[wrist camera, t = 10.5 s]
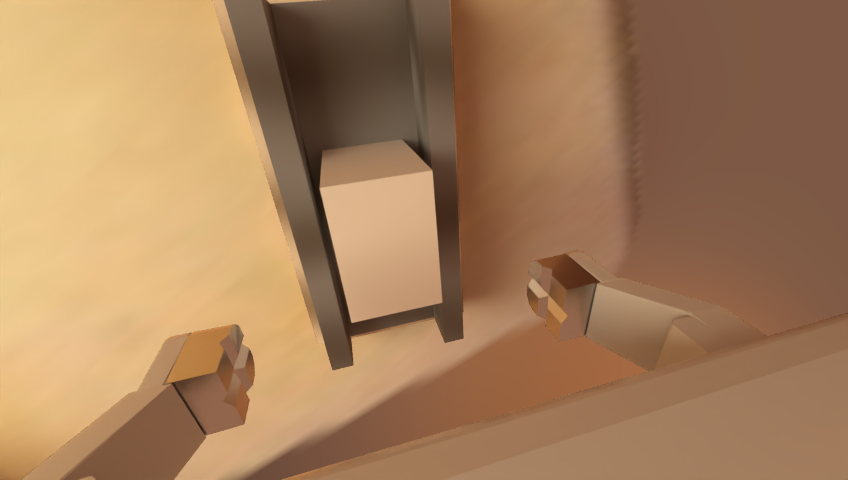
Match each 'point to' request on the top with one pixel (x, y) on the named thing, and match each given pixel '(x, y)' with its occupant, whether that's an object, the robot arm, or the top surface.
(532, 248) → the top surface
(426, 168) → the block
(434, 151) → the rail board
